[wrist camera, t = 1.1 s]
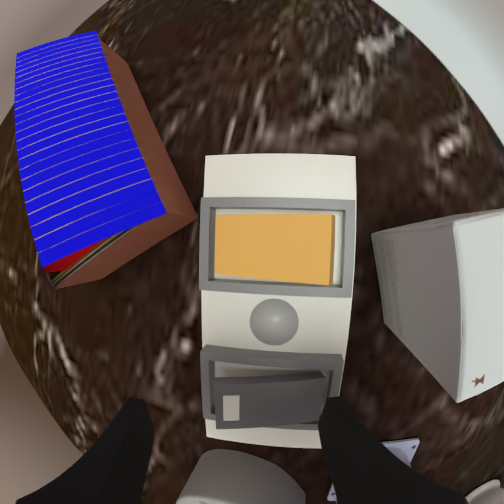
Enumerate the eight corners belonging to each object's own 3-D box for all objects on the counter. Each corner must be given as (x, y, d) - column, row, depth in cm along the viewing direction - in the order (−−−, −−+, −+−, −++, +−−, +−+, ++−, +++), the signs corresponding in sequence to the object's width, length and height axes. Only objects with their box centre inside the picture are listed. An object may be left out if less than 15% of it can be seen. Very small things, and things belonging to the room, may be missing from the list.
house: (102, 283, 24) (4, 306, 13) (54, 127, 25) (-18, 100, 14) (204, 219, 22) (115, 205, 11) (130, 60, 23) (65, 4, 11)
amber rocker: (332, 282, 15) (328, 285, 14) (223, 272, 18) (214, 273, 17) (335, 215, 15) (331, 214, 14) (224, 216, 18) (215, 214, 17)
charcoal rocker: (314, 413, 18) (319, 420, 17) (215, 420, 17) (216, 429, 16) (320, 371, 18) (326, 378, 16) (213, 377, 17) (214, 385, 15)
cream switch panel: (326, 427, 21) (328, 458, 17) (216, 418, 23) (201, 445, 19) (348, 167, 20) (358, 150, 16) (218, 165, 22) (199, 150, 17)
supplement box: (458, 302, 19) (559, 350, 6) (381, 324, 20) (452, 410, 8) (448, 214, 19) (560, 197, 6) (368, 230, 20) (451, 221, 8)
